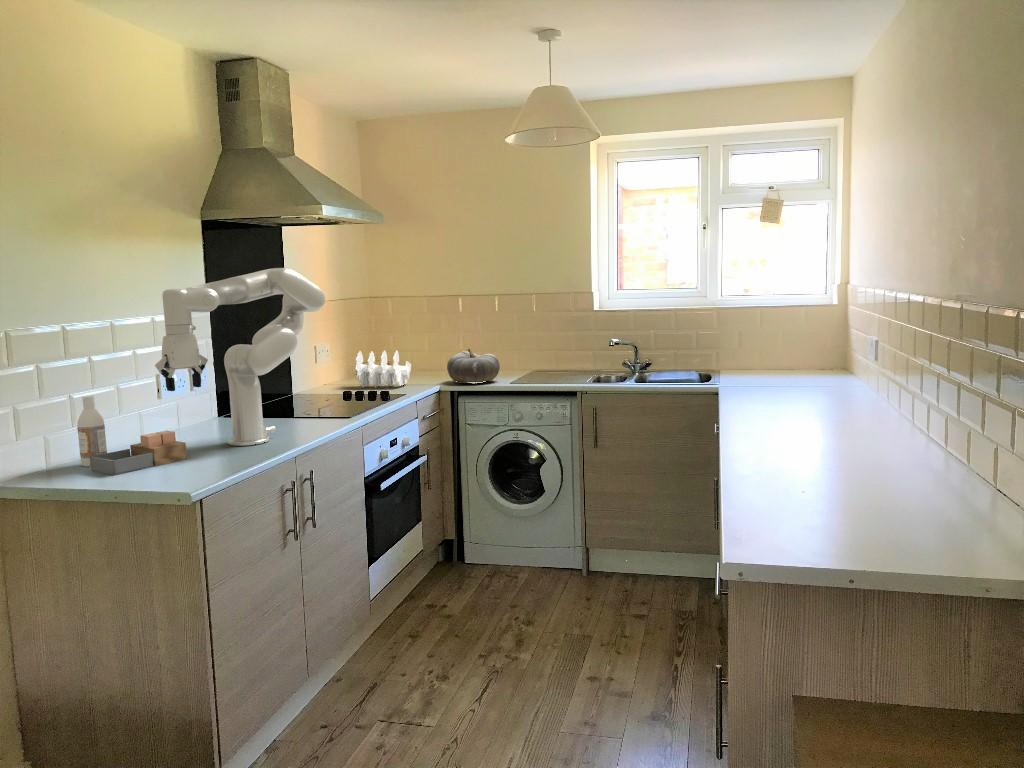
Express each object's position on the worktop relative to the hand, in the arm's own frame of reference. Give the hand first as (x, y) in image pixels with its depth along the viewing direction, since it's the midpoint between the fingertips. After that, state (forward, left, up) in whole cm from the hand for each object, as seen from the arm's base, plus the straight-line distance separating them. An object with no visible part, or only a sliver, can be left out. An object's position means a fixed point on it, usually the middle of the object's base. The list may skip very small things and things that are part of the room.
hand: (184, 388), depth 241 cm
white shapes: (-138, -51, -20) cm, 149 cm away
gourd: (-168, -19, -20) cm, 170 cm away
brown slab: (+10, 0, -20) cm, 22 cm away
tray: (+21, 0, -20) cm, 29 cm away
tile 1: (+8, 0, -15) cm, 17 cm away
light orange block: (+12, 0, -15) cm, 19 cm away
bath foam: (+22, -13, -20) cm, 33 cm away
